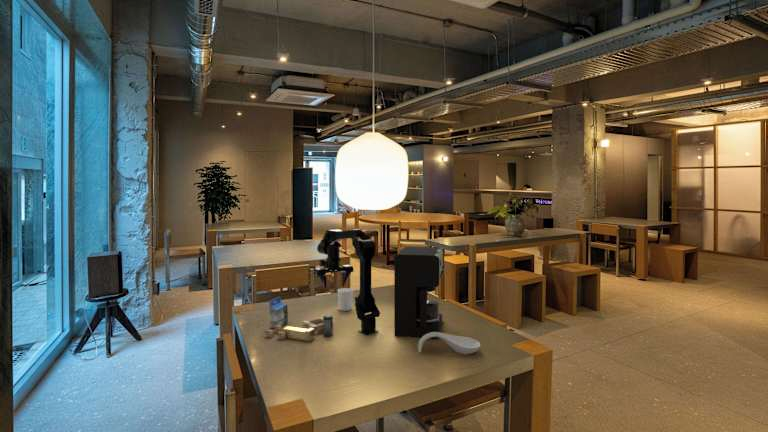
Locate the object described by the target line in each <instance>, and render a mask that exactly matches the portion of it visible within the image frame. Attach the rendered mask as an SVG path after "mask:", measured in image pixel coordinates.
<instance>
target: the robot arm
mask: <svg viewBox="0 0 768 432" xmlns="http://www.w3.org/2000/svg"><path fill="white" fill-rule="evenodd" d="M343 239H345V240H346V239H351V245H352V247H353V248H354V249H355V253H356V254H355V255H356V257H357V258H358V260H359V294H358V295H356V296H355V298H354V301H355V302H354V306H355V312H356V316H357V319H358V320H359V321H360V327H361V328H359V329H358V332H360V333H362V334H364V335H366V336H367V335H368V336H369V335H372V334H375V333H379V329H376V325H377V323H376V321H377V319H376V318H379V317H380V315H381V312H380V310H379V308H378V305H377V304H376V299H375V297H374V295H373V294H372V260H373V258H374V257H375V254H376V247H377V245H376V242H375V241H374V240H373V238H372V237H371V236H370V235H368V234H367V233H365V232H364V230H362V229H361V228H353V229H347V230H343V229H327V230H325V233H324V234H323V237H322V239H321V240H320V242H319V243H318V245H317V248H316V251H317V252H318V253H319V254H322V255H327V257H326V260H325V259H319V262H318V264H319V267H316V268H314V269H313V271H312V272H313V275H314V276H316V277H318V278H319V279H320V281H321V284H322V287H323V289H324V290H326V289H327V275H326V274H328V273H329V274H331V273H335V272H336V273H338V272H340V274H341V288H345V285H346V282H347V280H348V278H349V276H350V275H351V274H352V273H353V272H354V267H353V266H352V265H350V264H342V265H341V263H340V261H341V257H340V256H341V255H340V248H341V247H343V246H342V244H341V243H340V241H342V240H343ZM358 239H360V240H358ZM340 265H341V266H340Z"/></svg>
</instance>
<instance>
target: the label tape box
mask: <svg viewBox="0 0 768 432" xmlns="http://www.w3.org/2000/svg"><path fill="white" fill-rule="evenodd" d="M281 299H282V296H280V295H279V296H278V297H275V298H274V299H271V300H269V307H268V308H269V322H270V323H269V324H270V328H271V329H274V326H275V325H279V326H282V327H283V326H284V325H285V324H287V323H289V317H288V316H289V315H288V314H289V311H288V304H286V303H284V302H282V300H281Z"/></svg>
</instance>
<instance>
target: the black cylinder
mask: <svg viewBox="0 0 768 432" xmlns="http://www.w3.org/2000/svg"><path fill="white" fill-rule="evenodd" d="M322 317H323V333H322V336H323V337H325V338H330V337H333V336H334V321H333V320H334V317H333V315H331V314H330V315H328V314H327V315H323V316H322Z"/></svg>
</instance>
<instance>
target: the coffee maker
mask: <svg viewBox="0 0 768 432" xmlns="http://www.w3.org/2000/svg"><path fill="white" fill-rule="evenodd" d="M443 256H444V252H443V248H441V247H438V246H437V247H436V246H410V245H409V246H404V247H403V248H402V249H401V250H400V251H399V252H397V254H395V255H394V256H393V259H394V263H393V264H394V274H393V275H394V282H393V283H394V286H393V287H394V291H393V292H394V293H393V295H394V303H393V304H394V314H393V315H394V323H393V324H394V326H393V327H394V331H393V332H394V334H393V335H394V337H399V338H400V337H402V338H415V339H421V338H422V337H423V336H424V335H425V334H427V333H430V332H441V330H442V329H441V328H442V324H443V314H442V313H440V304H439V303H440V302H439V300H436V299H431V298H428V293H430V292H431V293H432V292H436V290H437V289H436V288H438V287H439V286H440V283H441V279H442V276H443V273H444V272H443V271H444V269H445V266H443V264H444V262H443V259H444V257H443ZM429 339H430V340H439V339H440V338H439V337H431V338H429ZM429 339H428V340H429Z"/></svg>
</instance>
